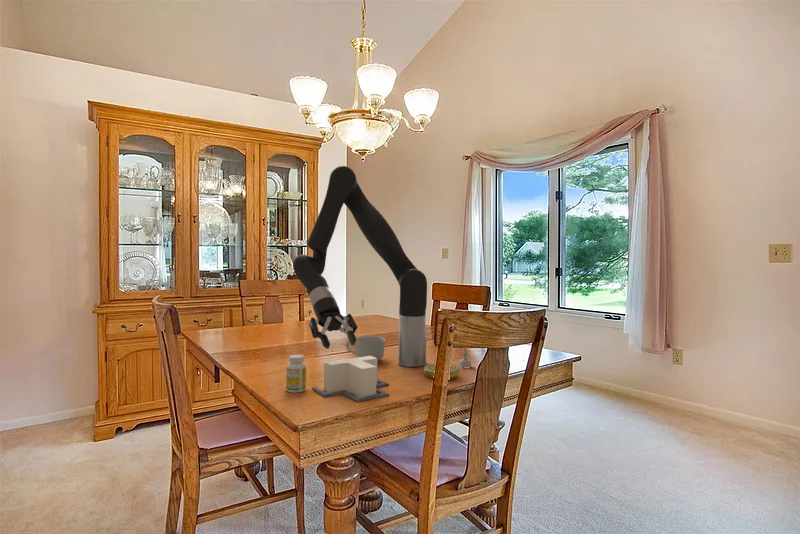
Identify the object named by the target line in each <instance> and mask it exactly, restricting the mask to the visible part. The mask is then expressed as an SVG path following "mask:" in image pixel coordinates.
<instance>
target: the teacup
mask: <svg viewBox="0 0 800 534" xmlns="http://www.w3.org/2000/svg"><path fill="white" fill-rule="evenodd" d="M350 344H351V343H350V341H349V339H348V340H347V341H346V343H345V348H346V349H347V351H349V352H350V353H352V354H353V356H355V357H356V358H357V357H365V356H372V357H375V358H377V362H379V361H380V360H381V359H382V358H383V357H384V355H385V345H386V339H385V338H384V337H382V336H377V335H362V336H358V337H356V342H355V344H354V345H353V346H354V349H355V350H353V349H352V348H351V347H350V346H349V345H350Z"/></svg>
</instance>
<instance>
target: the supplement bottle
mask: <svg viewBox="0 0 800 534" xmlns="http://www.w3.org/2000/svg"><path fill="white" fill-rule="evenodd" d="M304 357H305V355H303V354H292V355H289V357H288V361H289V362H288V364H287V365H286V371H285V372H286V374H285V375H286V380H285V381H286V382H285V383H286V386H285V390H286V392H288V393H292V394H293V393H294V394H297V393H298V392H299V393H303V392H304V391H306V389H307V386H306V385H307V384H306V382H307V365H306V363H305V362H304V360H305V358H304Z"/></svg>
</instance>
